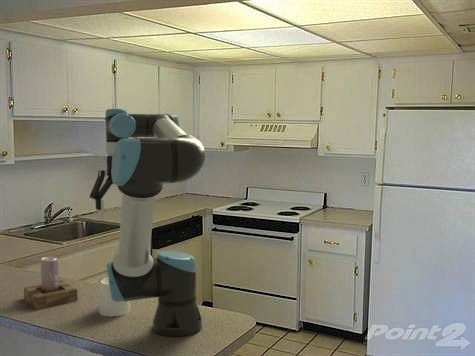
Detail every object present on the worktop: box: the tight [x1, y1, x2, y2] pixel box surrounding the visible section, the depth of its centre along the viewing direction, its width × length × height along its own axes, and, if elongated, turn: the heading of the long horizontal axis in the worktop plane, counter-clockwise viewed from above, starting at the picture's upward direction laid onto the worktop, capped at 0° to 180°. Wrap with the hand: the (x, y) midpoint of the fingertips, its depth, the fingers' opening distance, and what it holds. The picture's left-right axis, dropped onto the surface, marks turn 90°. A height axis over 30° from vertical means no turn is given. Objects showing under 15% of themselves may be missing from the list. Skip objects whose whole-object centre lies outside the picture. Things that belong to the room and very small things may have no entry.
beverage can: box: [39, 256, 60, 294], centre depth 183 cm, size 6×6×15 cm
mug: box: [97, 276, 131, 318], centre depth 174 cm, size 14×10×11 cm
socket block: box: [23, 279, 78, 310], centre depth 184 cm, size 14×14×4 cm
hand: (119, 217), depth 176 cm, fingers open, 13 cm apart
